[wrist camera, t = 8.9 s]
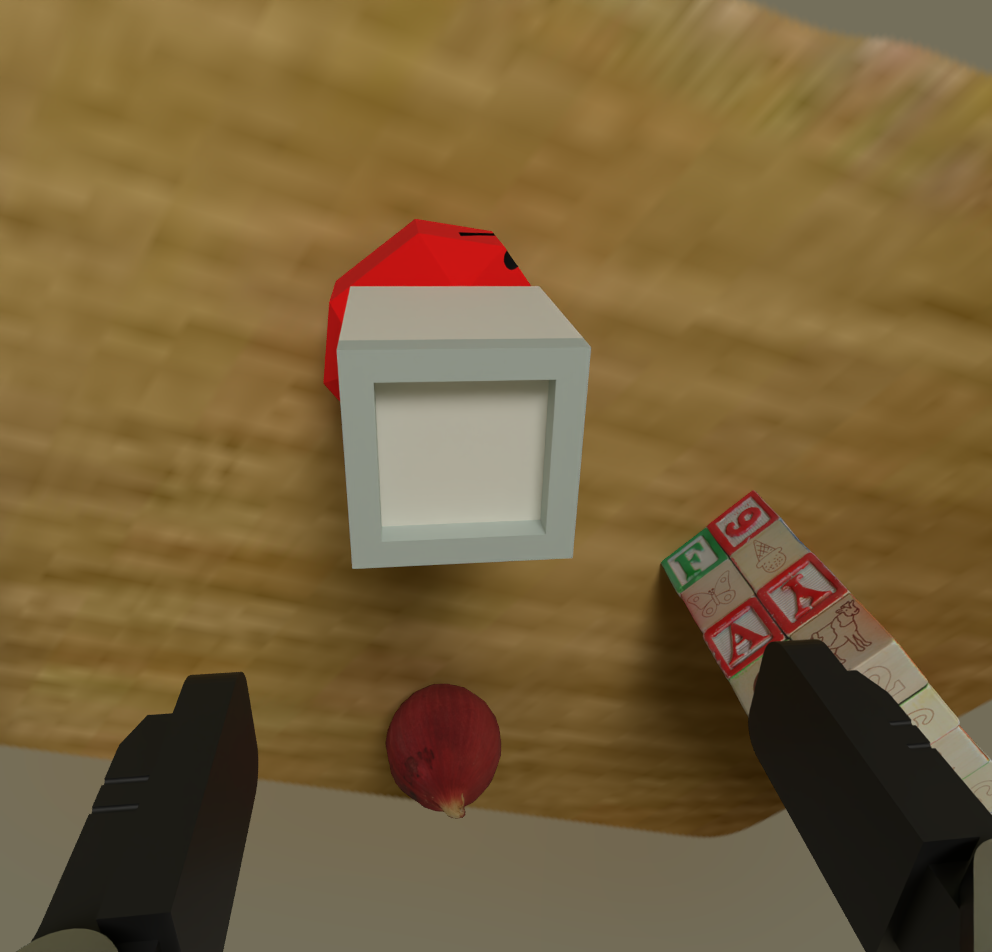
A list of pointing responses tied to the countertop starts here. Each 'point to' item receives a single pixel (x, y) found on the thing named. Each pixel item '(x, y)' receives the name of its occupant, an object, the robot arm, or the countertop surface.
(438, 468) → the socket block
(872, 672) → the stack of blocks
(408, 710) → the onion
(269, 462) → the countertop surface
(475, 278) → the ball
